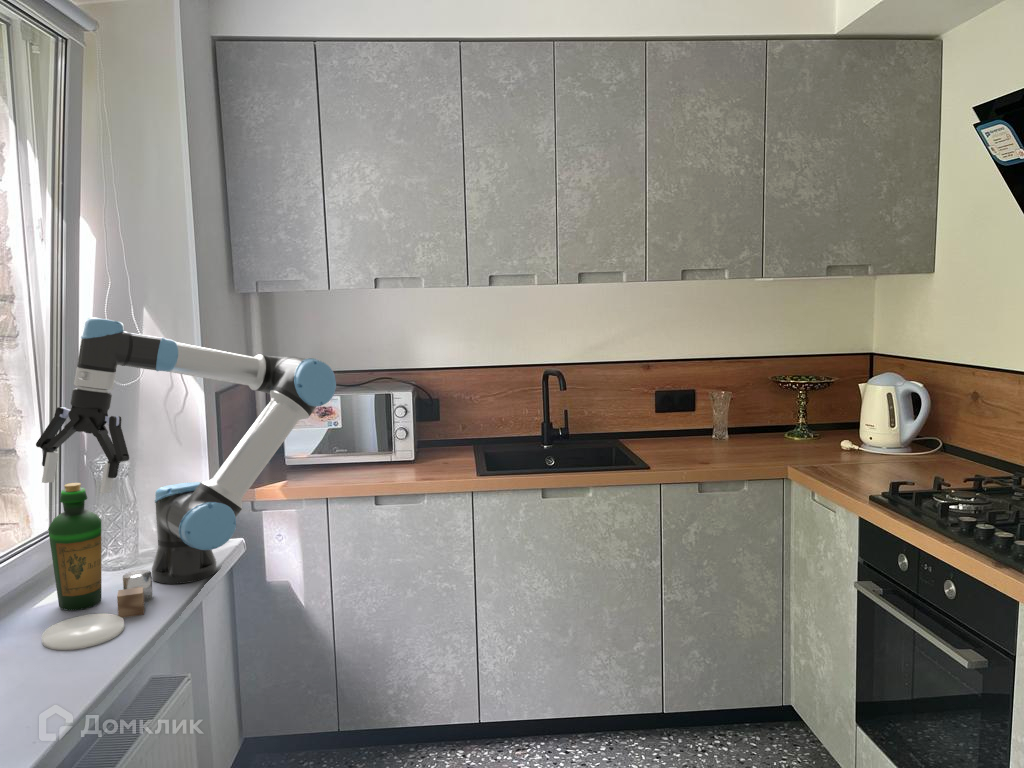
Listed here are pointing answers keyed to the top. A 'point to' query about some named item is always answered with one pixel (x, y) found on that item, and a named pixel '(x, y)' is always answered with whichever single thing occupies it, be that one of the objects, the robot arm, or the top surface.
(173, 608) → the top surface
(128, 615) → the walnut block
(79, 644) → the white round disc
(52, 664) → the top surface
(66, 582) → the bottle
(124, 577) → the metal tin
